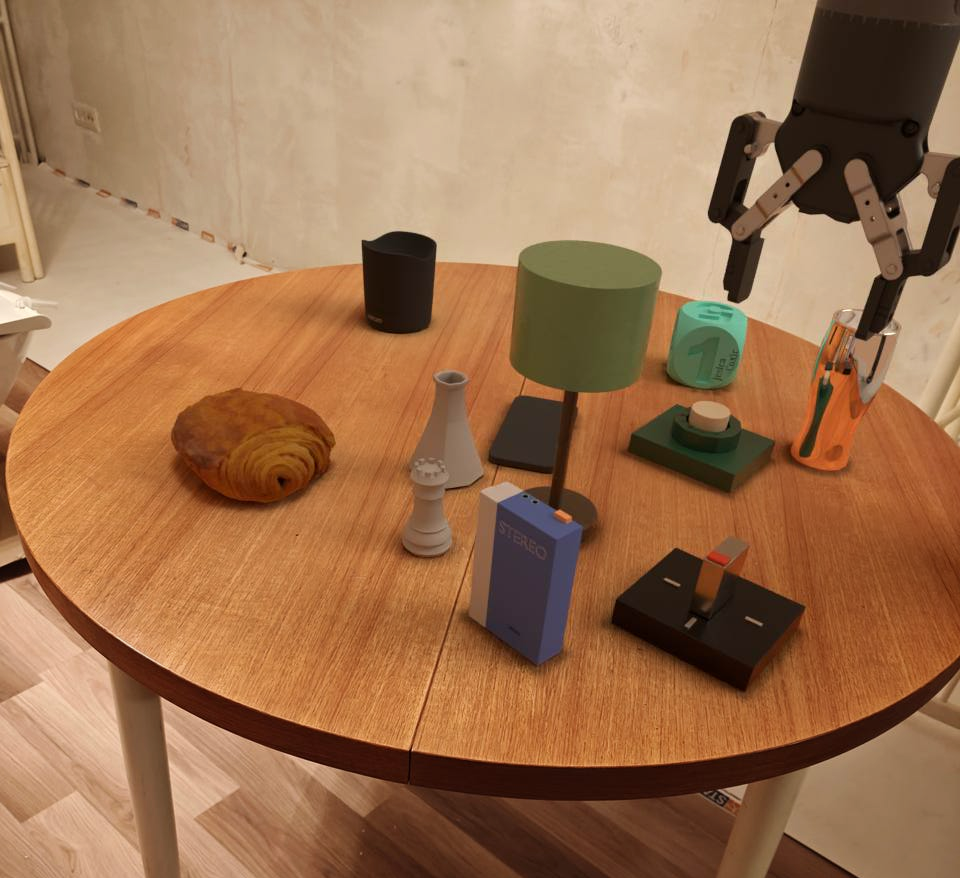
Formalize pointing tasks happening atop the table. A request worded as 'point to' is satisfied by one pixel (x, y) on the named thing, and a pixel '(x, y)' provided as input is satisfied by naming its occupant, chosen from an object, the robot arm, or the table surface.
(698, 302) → the decorative dice
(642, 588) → the panel
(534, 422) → the phone
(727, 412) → the button
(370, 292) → the pen holder
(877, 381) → the chrome tumbler
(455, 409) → the flask
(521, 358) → the table lamp
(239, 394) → the croissant
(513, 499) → the walkman
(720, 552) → the dimmer knob
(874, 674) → the table surface
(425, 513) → the rook chess piece
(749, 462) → the switch base
